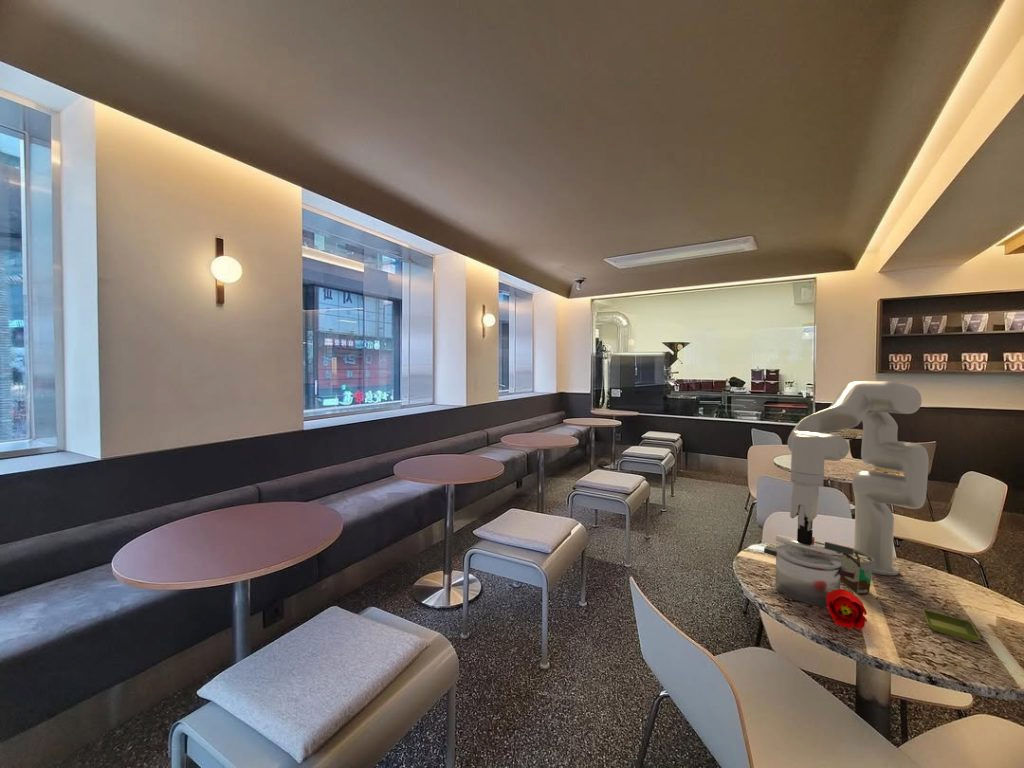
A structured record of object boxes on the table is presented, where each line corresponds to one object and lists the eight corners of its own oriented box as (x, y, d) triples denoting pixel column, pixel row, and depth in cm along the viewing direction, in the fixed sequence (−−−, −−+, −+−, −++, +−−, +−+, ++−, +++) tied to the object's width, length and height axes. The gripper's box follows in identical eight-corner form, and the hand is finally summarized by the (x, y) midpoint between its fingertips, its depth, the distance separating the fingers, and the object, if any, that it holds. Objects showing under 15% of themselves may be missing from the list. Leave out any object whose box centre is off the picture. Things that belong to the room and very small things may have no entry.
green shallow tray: (921, 616, 105) (921, 608, 105) (971, 629, 100) (971, 621, 100) (927, 631, 99) (927, 623, 99) (980, 647, 93) (981, 638, 93)
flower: (868, 600, 102) (875, 613, 96) (851, 623, 104) (856, 638, 97) (833, 578, 106) (837, 590, 100) (817, 601, 108) (820, 614, 101)
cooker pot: (772, 570, 129) (773, 536, 129) (857, 597, 113) (858, 558, 113) (756, 586, 118) (757, 549, 118) (849, 618, 103) (850, 576, 103)
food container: (886, 600, 112) (887, 565, 112) (860, 597, 113) (861, 562, 113) (857, 579, 124) (858, 547, 124) (835, 577, 125) (835, 545, 125)
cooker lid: (783, 538, 127) (784, 528, 128) (857, 557, 114) (857, 546, 115) (769, 540, 116) (770, 528, 117) (848, 561, 103) (849, 548, 104)
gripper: (797, 472, 121) (795, 533, 121) (784, 479, 111) (781, 545, 111) (828, 477, 115) (826, 540, 116) (817, 485, 105) (815, 554, 105)
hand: (804, 543), depth 113 cm, fingers closed
